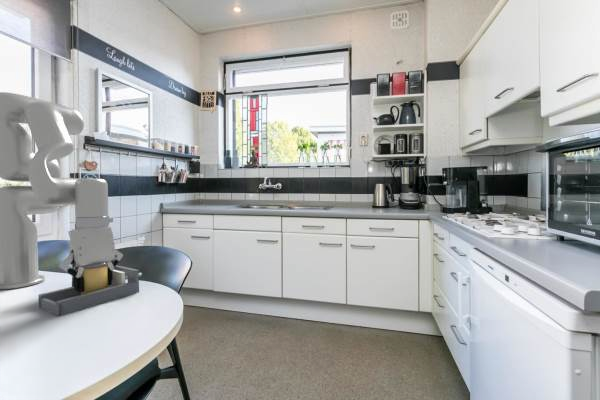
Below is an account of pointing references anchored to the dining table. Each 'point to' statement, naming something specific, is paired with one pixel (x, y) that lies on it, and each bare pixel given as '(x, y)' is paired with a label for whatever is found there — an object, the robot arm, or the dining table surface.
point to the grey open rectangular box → (88, 295)
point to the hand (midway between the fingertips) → (94, 286)
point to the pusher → (119, 278)
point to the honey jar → (95, 277)
